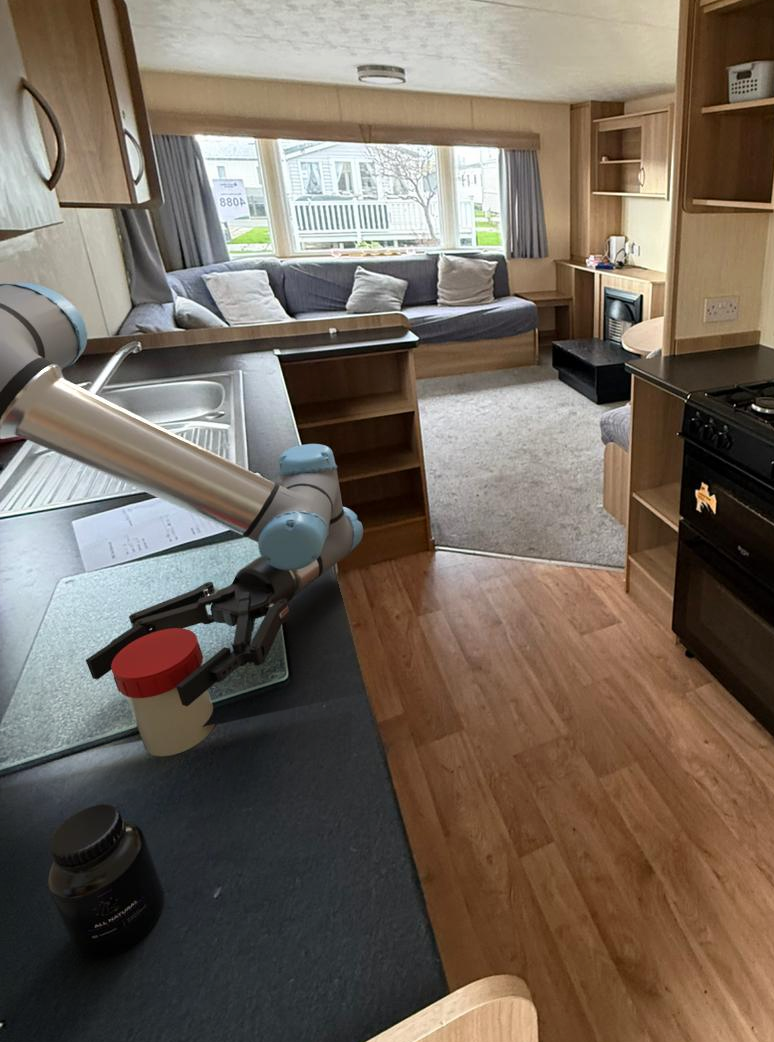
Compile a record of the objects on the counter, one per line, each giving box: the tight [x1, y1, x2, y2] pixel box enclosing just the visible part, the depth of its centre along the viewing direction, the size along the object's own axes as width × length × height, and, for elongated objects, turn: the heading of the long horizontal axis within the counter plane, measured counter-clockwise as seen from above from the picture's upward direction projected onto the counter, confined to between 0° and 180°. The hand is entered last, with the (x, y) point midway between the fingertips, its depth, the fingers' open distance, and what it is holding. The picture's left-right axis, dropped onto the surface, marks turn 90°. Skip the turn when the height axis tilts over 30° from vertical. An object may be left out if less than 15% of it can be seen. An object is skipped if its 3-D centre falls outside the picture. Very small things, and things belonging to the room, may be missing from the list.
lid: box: [110, 628, 204, 698], centre depth 75 cm, size 8×8×3 cm
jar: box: [125, 687, 216, 757], centre depth 77 cm, size 8×8×12 cm
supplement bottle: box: [46, 803, 165, 960], centre depth 57 cm, size 7×7×12 cm
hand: (134, 683), depth 73 cm, fingers open, 13 cm apart
